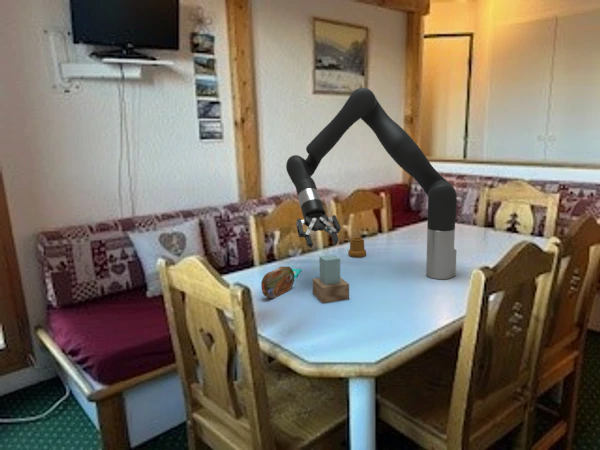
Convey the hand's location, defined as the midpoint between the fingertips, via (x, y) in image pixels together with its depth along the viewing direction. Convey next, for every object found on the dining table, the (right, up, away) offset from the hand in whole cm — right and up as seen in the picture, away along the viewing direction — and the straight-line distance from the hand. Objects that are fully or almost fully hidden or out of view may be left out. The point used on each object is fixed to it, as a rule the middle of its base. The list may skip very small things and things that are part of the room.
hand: (323, 245), depth 154 cm
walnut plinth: (+2, -16, -1) cm, 17 cm away
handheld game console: (-14, -13, +19) cm, 27 cm away
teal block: (+2, -12, -2) cm, 12 cm away
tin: (-15, -16, +3) cm, 22 cm away
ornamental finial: (+16, -6, +43) cm, 46 cm away
